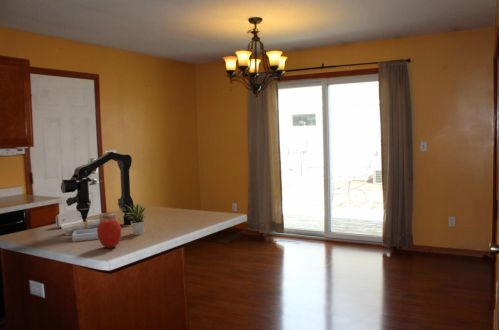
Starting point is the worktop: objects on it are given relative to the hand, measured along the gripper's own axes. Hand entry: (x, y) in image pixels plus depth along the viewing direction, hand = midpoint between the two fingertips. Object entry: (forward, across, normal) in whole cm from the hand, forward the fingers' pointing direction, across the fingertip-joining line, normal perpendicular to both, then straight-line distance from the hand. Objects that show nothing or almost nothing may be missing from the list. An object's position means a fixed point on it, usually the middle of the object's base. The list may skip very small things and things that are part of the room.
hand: (84, 220), depth 218 cm
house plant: (+7, +15, +25) cm, 30 cm away
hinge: (+7, -23, -9) cm, 25 cm away
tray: (+6, +14, +4) cm, 16 cm away
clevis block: (+6, 0, +3) cm, 7 cm away
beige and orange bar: (+4, 0, +4) cm, 6 cm away
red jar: (+7, +39, +12) cm, 42 cm away
